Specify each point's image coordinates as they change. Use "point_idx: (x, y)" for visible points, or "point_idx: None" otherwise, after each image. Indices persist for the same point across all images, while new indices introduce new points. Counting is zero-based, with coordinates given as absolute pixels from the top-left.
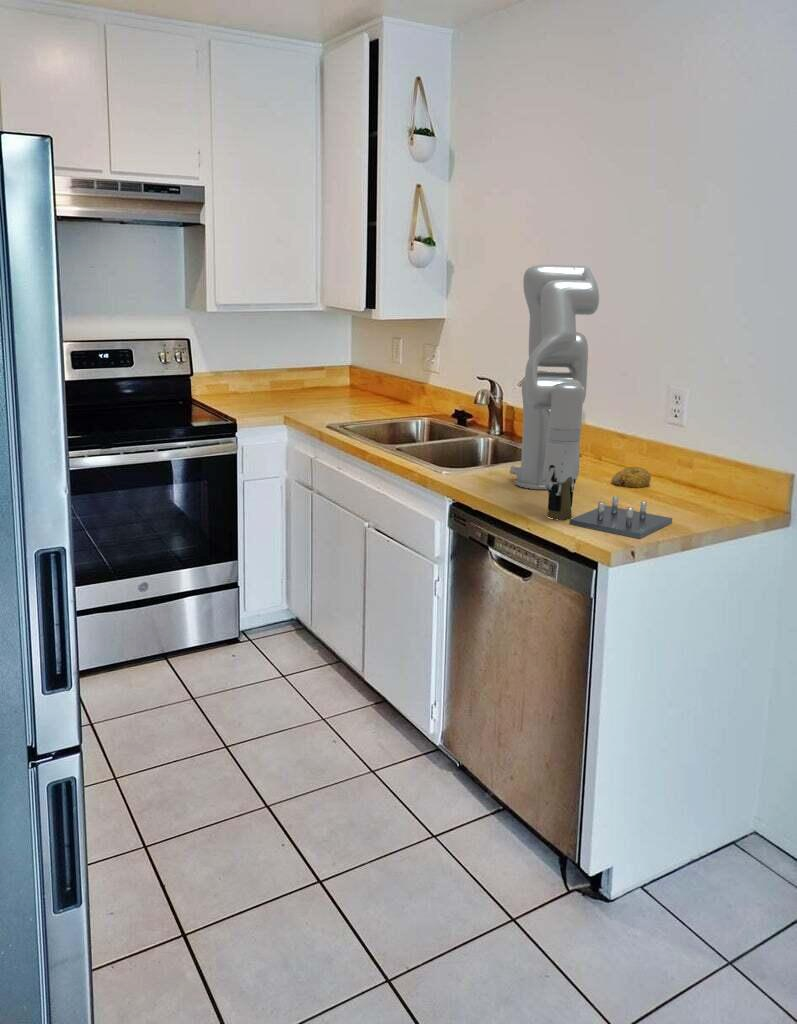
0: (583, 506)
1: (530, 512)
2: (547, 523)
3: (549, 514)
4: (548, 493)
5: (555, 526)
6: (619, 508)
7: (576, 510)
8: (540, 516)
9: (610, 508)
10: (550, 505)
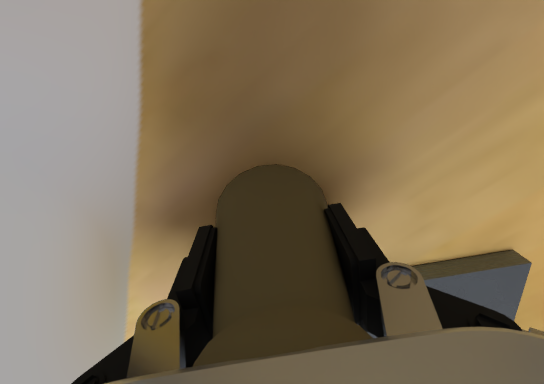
0: (526, 163)
1: (220, 65)
2: (152, 249)
3: (217, 211)
4: (145, 315)
5: (151, 288)
6: (508, 317)
7: (433, 189)
8: (207, 158)
9: (489, 301)
10: (184, 264)
